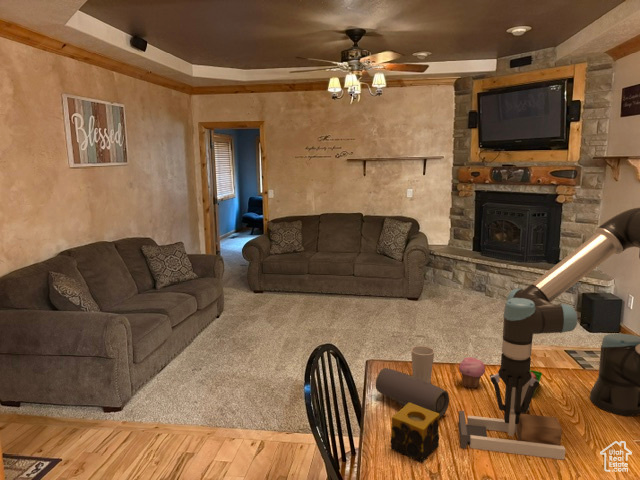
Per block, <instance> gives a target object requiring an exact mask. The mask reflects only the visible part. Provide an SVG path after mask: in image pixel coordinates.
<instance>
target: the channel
mask: <svg viewBox="0 0 640 480" xmlns="http://www.w3.org/2000/svg"><path fill="white" fill-rule="evenodd" d="M466 420H467V422H466V425H472V426H481V427H486V431H487V430H489V431H498V432H505V433H508V432H507V425H508V423H505V420H504V418H495V417H487V416H484V417H483V416H477V415H476V416H475V415H467V419H466ZM517 425H518V424H515V430H514V434H517ZM469 448H470V449H476V450H483V451H491V452H500V453H506V454H508V453H509V454H514V455H516V454H517V455H525V456H529V457H530V456H531V457H538V458H547V459H555V460H565V457H566V448H565V446H564V445H560V446H558V445H549V444H541V443H533V442H524V441H518V440H516V439H515V440H514V439H506V438H505V439H504V438H498V437H490V436H487V437H482V436H474V435H470V445H469Z"/></svg>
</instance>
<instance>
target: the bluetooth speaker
mask: <svg viewBox="0 0 640 480" xmlns="http://www.w3.org/2000/svg"><path fill="white" fill-rule="evenodd" d="M375 389H376V391H377V392H379V393H380V394H382V395H383V396H386V397H388V398H390V399H391V400H393V401H395V402H396V403H397V405H400V407H402V408H403V407H404V406H405V405H406V404H408V403H412V404H415V405H418V406H420V407H423V408H425V409H428V410H430V411H433V412H437V413H439V414H440V416H439V418H441V417H443V416H444V415H445V414H446V412H447V410H448V408H449V404H450V396H449V392H448V391H447V390H445V389H443V388H442V387H440V386H438V385H434V384H433V383H431V384H430V383H428V382H425V381H423V380H421V379H418V378H416V377H413V375H410V374H407V373H404V372H401V371H399V370H395V369H392V368H388V367H385V368H382V369H381V370H380V371H379V372H378V374H377V377H376V380H375Z"/></svg>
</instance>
